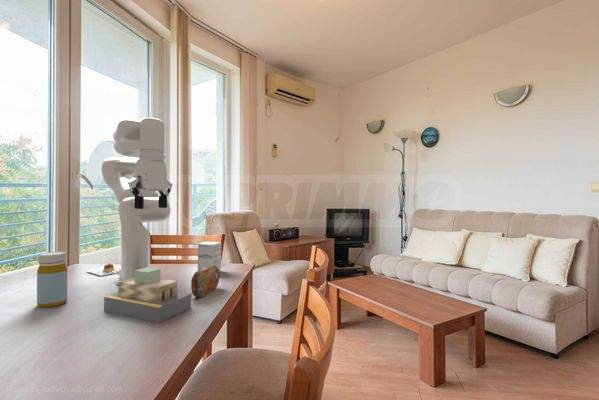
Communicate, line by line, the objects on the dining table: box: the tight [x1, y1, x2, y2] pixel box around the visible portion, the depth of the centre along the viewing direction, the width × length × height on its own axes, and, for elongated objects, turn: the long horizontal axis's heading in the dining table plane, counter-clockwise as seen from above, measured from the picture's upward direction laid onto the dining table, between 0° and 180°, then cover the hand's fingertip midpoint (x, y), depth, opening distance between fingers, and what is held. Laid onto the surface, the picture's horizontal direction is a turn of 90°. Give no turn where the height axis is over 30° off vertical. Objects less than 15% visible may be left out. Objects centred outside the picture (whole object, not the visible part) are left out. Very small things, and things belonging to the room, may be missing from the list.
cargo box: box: [134, 267, 162, 285], centre depth 88 cm, size 5×4×3 cm
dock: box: [103, 291, 192, 324], centre depth 88 cm, size 20×12×4 cm, turn 69°
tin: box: [190, 266, 220, 298], centre depth 104 cm, size 15×3×8 cm, turn 168°
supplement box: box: [197, 241, 222, 272], centre depth 132 cm, size 7×7×13 cm
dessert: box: [86, 261, 121, 277], centre depth 130 cm, size 12×12×5 cm
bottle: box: [36, 251, 68, 309], centre depth 91 cm, size 7×7×15 cm
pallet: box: [118, 278, 178, 303], centre depth 88 cm, size 14×8×4 cm, turn 69°
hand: (151, 208), depth 102 cm, fingers open, 9 cm apart
